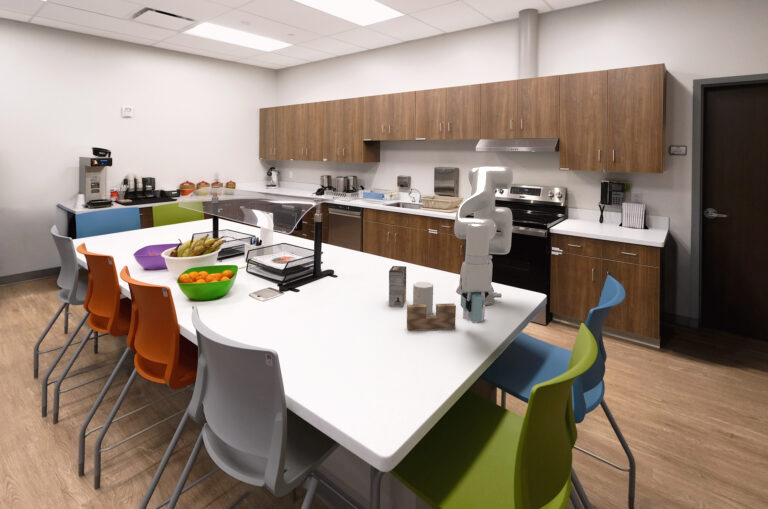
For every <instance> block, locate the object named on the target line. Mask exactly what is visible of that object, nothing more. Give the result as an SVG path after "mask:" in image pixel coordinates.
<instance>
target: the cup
mask: <svg viewBox="0 0 768 509" xmlns="http://www.w3.org/2000/svg"><path fill="white" fill-rule="evenodd" d="M412 287H413V288H412V294H413V295H412V305H414V304H425V305H426V307H427V313H426V316H431V315H433V307H434V306H433V305H434V283H431V282H427V281H419V282H414V283H413V285H412Z"/></svg>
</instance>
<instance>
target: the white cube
mask: <svg viewBox="0 0 768 509" xmlns="http://www.w3.org/2000/svg"><path fill="white" fill-rule="evenodd" d="M462 310H463V312H462V319H464V320H467V321H469V322H471V323H474V324H475V323H476V322H472V320H471V319H470V317H469V316H468V311H464V309H463V308H462ZM485 313H486V305H483V308H482V321H483V320H485V316H486V314H485Z"/></svg>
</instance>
